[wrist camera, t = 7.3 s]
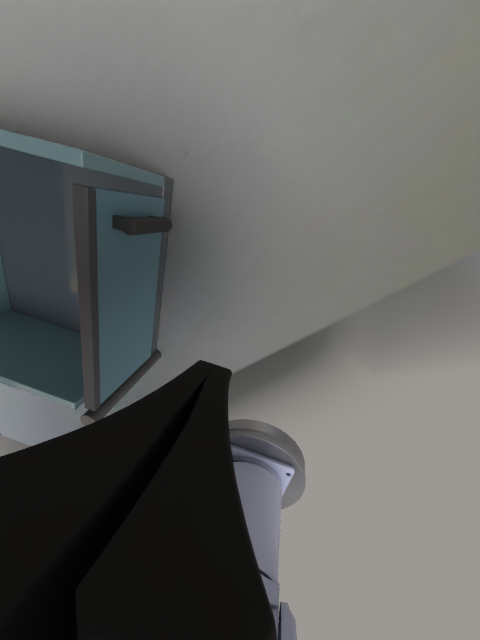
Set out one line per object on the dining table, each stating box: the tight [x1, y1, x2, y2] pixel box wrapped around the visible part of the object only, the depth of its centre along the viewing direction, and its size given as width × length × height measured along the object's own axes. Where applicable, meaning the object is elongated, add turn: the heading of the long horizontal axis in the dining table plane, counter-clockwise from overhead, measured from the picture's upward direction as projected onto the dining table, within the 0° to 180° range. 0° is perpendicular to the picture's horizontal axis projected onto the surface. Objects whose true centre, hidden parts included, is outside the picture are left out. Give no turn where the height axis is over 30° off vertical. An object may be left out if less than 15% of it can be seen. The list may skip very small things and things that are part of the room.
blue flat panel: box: [72, 183, 172, 411], centre depth 15 cm, size 12×2×6 cm, turn 166°
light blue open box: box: [0, 129, 173, 426], centre depth 16 cm, size 14×14×8 cm
